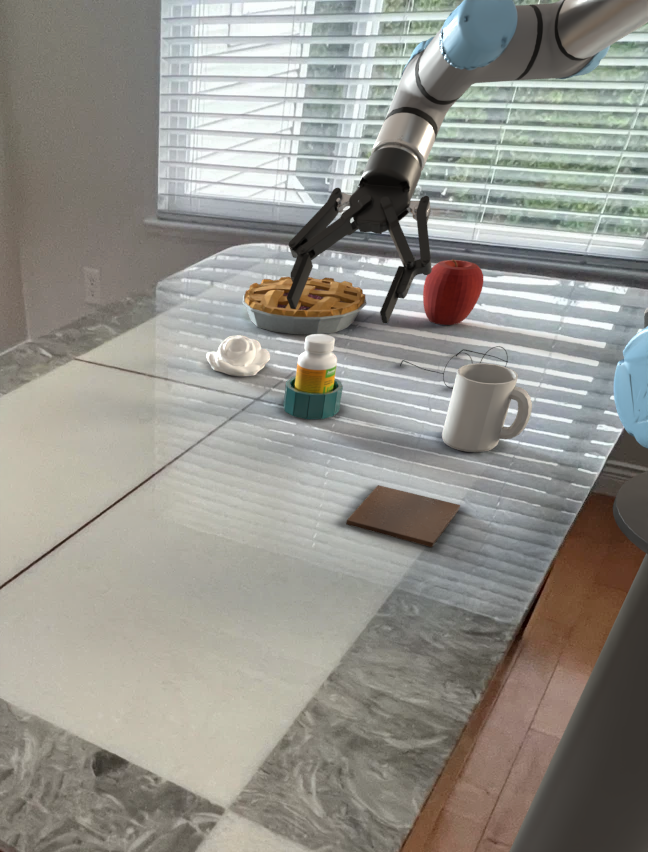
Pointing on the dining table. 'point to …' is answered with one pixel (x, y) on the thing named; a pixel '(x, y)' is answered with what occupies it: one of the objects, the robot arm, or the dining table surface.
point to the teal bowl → (312, 401)
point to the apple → (451, 291)
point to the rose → (239, 356)
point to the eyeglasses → (456, 355)
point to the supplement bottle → (316, 365)
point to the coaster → (404, 515)
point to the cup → (484, 408)
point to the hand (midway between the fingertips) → (336, 311)
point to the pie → (304, 306)
